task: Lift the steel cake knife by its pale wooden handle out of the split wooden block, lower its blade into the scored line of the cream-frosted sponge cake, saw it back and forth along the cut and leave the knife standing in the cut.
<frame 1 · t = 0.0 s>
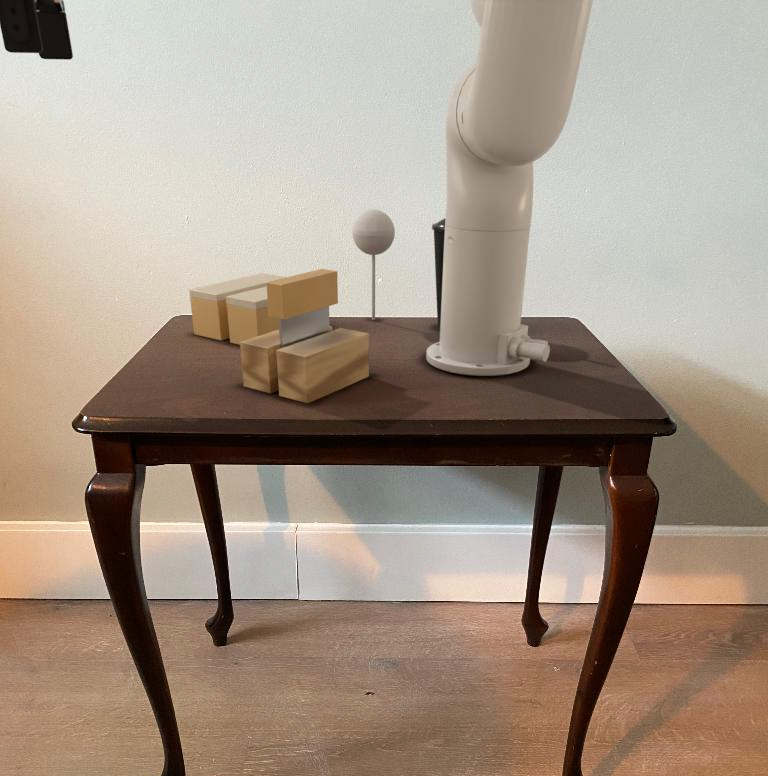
hand: (41, 55, 70), 31 cm above the table, tool pointing down, fingers open, 9 cm apart
lollipop: (373, 321, 107), on the table
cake: (262, 330, 101), on the table
drinking cup: (454, 329, 103), on the table
knife: (307, 381, 82), on the table
split wooden block: (307, 381, 82), on the table
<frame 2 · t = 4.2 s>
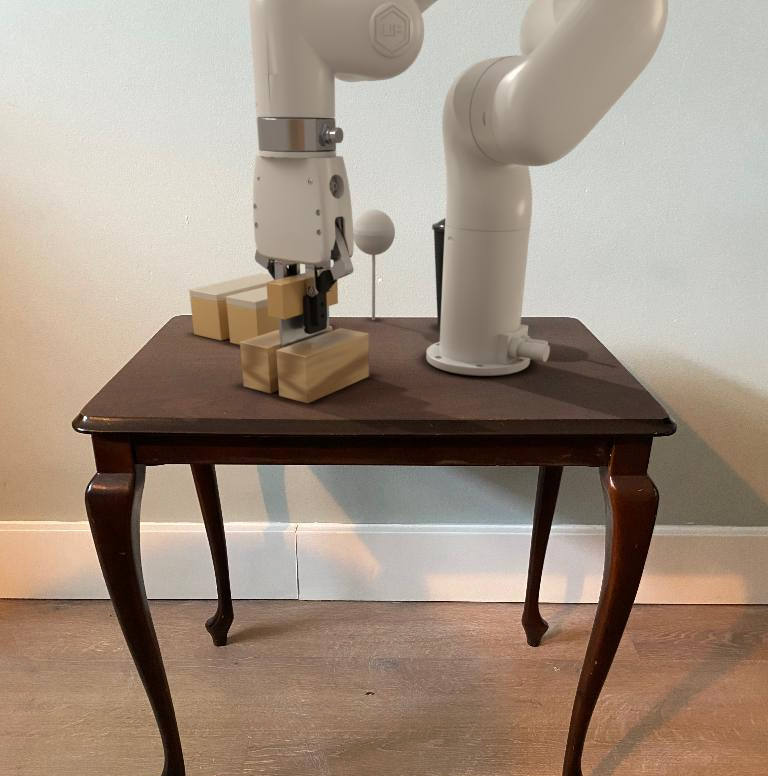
hand: (305, 327, 79), 6 cm above the table, tool pointing down, fingers closed on knife, 2 cm apart
knife: (307, 381, 82), on the table, touching gripper
everything else where it was.
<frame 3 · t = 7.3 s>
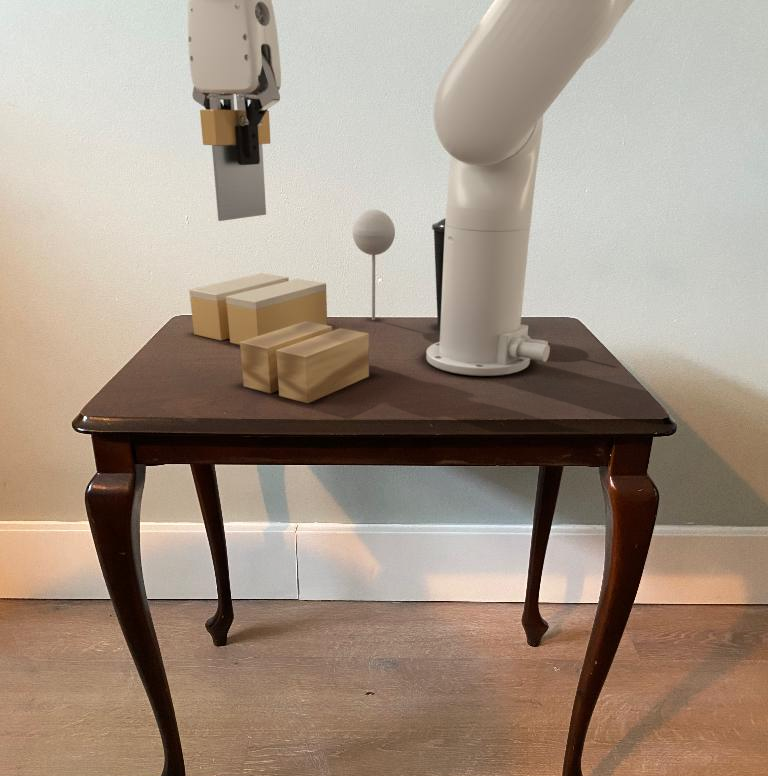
hand: (239, 162, 86), 21 cm above the table, tool pointing down, fingers closed on knife
knife: (242, 217, 89), point 15 cm above the table, touching gripper
everything else where it was.
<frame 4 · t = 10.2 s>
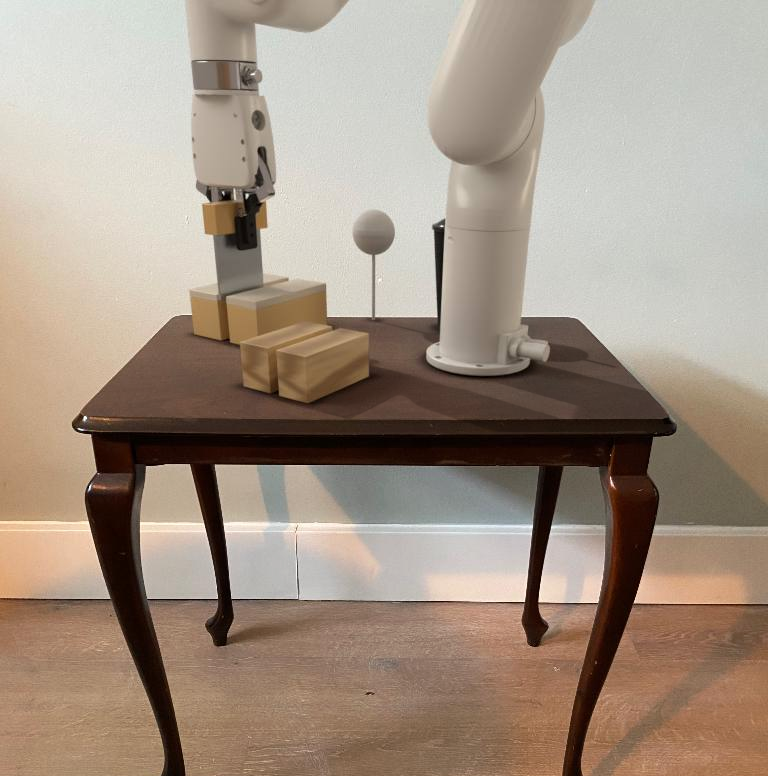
hand: (238, 246, 94), 11 cm above the table, tool pointing down, fingers closed on knife
knife: (242, 295, 96), point 5 cm above the table, touching gripper
everything else where it was.
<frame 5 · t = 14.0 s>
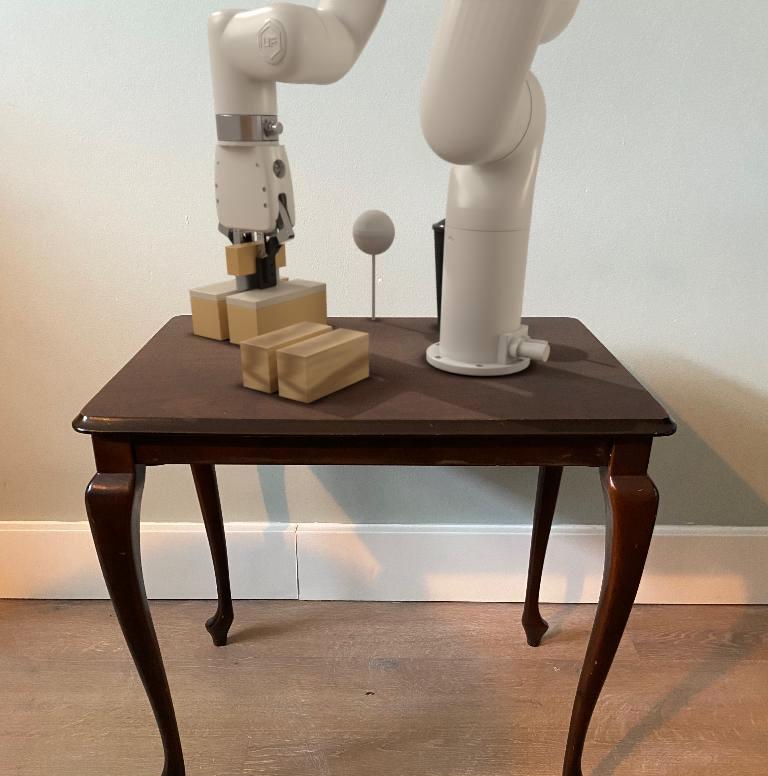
hand: (259, 284, 98), 6 cm above the table, tool pointing down, fingers closed on knife, 2 cm apart
knife: (262, 330, 101), on the table, touching gripper
everything else where it was.
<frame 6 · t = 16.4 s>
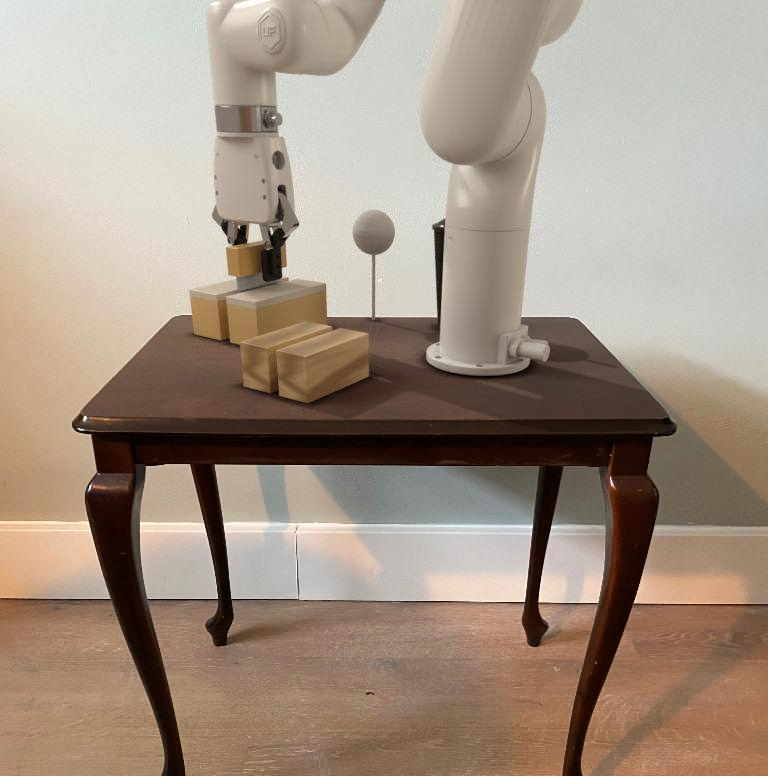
hand: (258, 276, 98), 7 cm above the table, tool pointing down, fingers open, 4 cm apart
knife: (262, 330, 101), on the table
everything else where it was.
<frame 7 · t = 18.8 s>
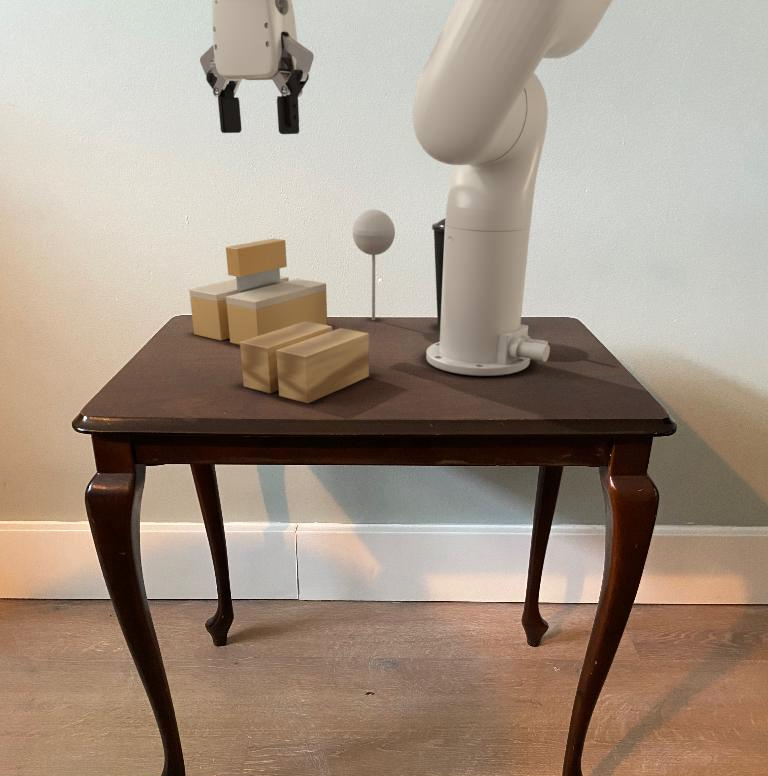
hand: (259, 133, 92), 24 cm above the table, tool pointing down, fingers open, 9 cm apart
nothing on the table moved.
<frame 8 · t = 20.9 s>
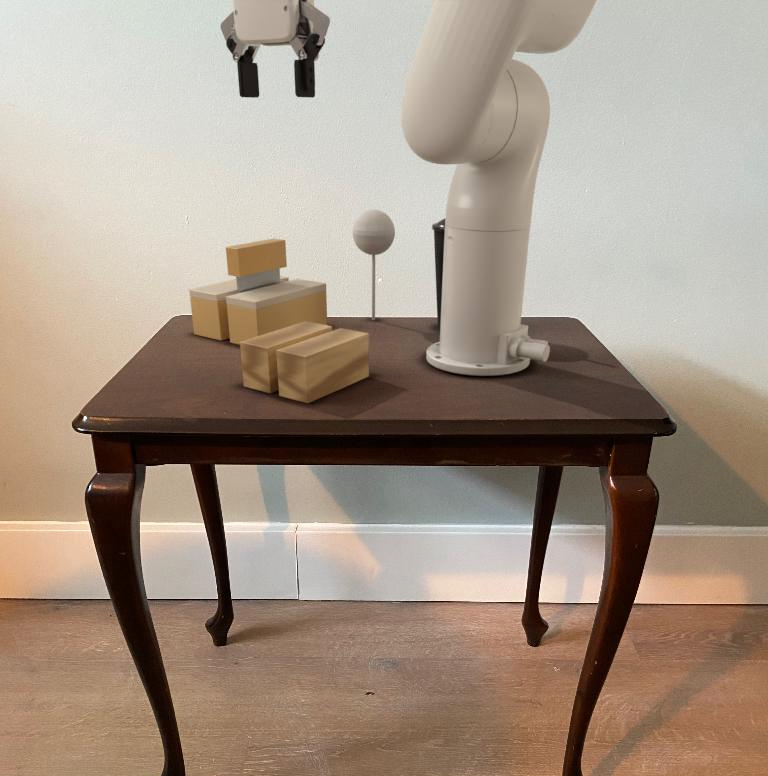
hand: (276, 97, 96), 28 cm above the table, tool pointing down, fingers open, 9 cm apart
nothing on the table moved.
at the end: knife 0.1 cm off-centre on the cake, point 0.0 cm above the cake's base; knife tilted 0°; the gripper is holding nothing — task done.
